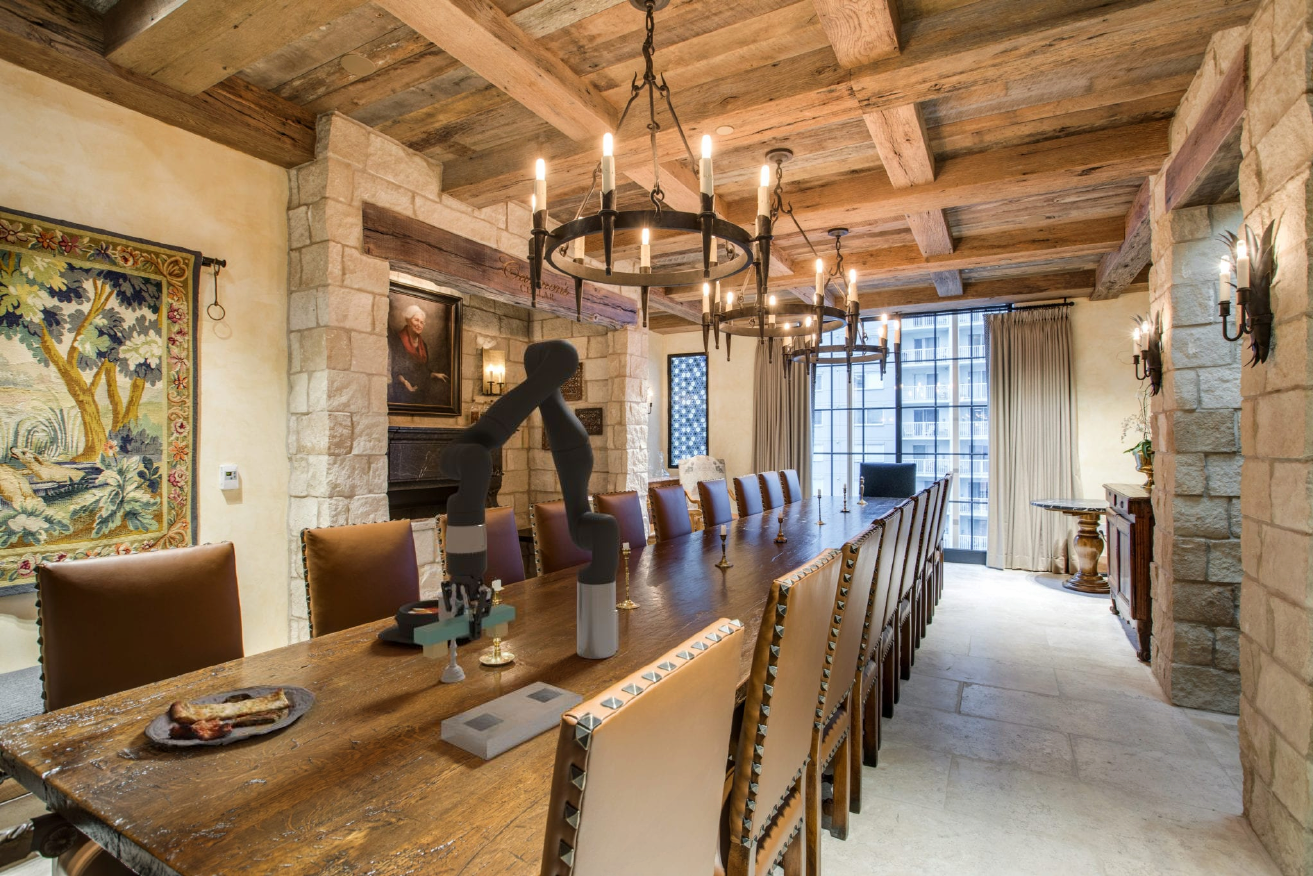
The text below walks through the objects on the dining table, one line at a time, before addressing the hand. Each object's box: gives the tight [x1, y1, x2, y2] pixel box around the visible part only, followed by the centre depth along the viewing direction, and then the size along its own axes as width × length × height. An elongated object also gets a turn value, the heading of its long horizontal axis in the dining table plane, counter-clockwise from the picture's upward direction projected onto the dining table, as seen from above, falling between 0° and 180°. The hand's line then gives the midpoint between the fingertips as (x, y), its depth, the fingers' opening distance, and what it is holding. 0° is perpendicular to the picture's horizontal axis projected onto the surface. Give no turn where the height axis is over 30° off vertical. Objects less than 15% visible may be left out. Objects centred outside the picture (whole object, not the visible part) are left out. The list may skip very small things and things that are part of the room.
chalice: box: [435, 591, 468, 684], centre depth 133 cm, size 7×7×18 cm
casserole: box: [377, 599, 469, 646], centre depth 160 cm, size 25×19×8 cm
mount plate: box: [440, 681, 584, 761], centre depth 110 cm, size 22×12×3 cm, turn 144°
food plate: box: [143, 684, 315, 748], centre depth 112 cm, size 25×23×4 cm
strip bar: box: [414, 603, 516, 660], centre depth 119 cm, size 20×4×5 cm, turn 144°
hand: (467, 636), depth 119 cm, fingers closed on strip bar, 4 cm apart
